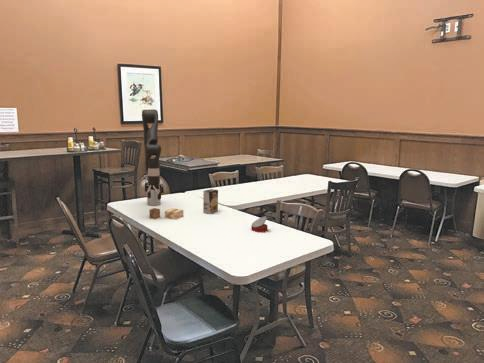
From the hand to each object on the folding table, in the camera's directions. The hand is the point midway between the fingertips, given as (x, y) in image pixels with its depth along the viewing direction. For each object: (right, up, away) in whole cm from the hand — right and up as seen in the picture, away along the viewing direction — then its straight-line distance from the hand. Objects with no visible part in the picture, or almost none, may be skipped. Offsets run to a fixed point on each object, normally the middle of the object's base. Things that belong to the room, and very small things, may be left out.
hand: (154, 198), depth 272 cm
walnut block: (0, -13, +2) cm, 13 cm away
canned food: (+69, -18, -22) cm, 75 cm away
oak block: (+12, -13, +5) cm, 19 cm away
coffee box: (+36, -11, +19) cm, 42 cm away
